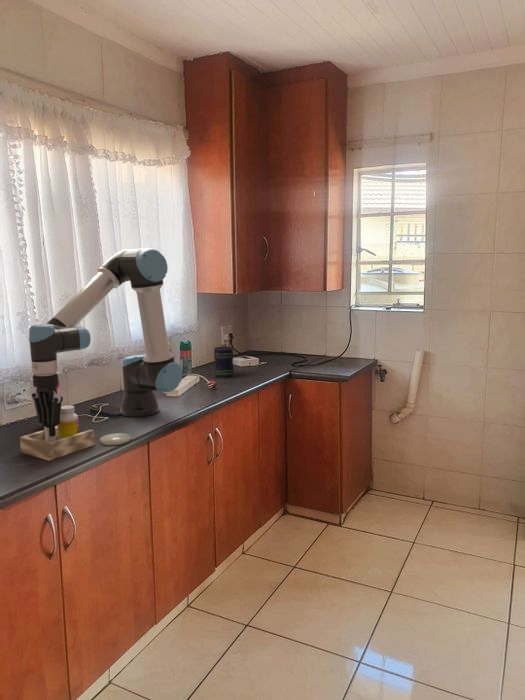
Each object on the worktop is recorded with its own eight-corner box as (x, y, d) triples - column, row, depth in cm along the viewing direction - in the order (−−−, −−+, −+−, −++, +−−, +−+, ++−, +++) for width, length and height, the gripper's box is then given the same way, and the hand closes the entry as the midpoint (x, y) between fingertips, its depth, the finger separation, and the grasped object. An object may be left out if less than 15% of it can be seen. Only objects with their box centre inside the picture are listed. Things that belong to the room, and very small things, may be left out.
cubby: (67, 437, 192) (66, 423, 191) (94, 444, 184) (93, 430, 183) (20, 452, 178) (19, 437, 177) (49, 460, 170) (47, 445, 169)
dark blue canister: (226, 379, 281) (225, 350, 279) (210, 377, 286) (210, 349, 284) (237, 375, 290) (236, 347, 287) (222, 374, 295) (221, 346, 292)
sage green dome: (116, 434, 195) (116, 431, 195) (137, 439, 189) (136, 436, 189) (94, 442, 187) (93, 439, 186) (114, 447, 181) (114, 444, 181)
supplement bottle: (80, 446, 183) (78, 408, 181) (59, 449, 180) (56, 410, 178) (78, 440, 189) (76, 403, 187) (58, 443, 186) (55, 406, 184)
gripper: (22, 373, 175) (28, 445, 179) (47, 378, 168) (53, 452, 172) (43, 369, 181) (48, 438, 185) (68, 373, 174) (73, 445, 178)
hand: (50, 445), depth 178 cm, fingers closed
